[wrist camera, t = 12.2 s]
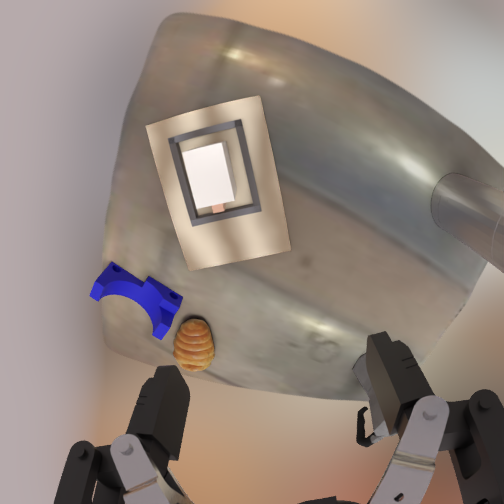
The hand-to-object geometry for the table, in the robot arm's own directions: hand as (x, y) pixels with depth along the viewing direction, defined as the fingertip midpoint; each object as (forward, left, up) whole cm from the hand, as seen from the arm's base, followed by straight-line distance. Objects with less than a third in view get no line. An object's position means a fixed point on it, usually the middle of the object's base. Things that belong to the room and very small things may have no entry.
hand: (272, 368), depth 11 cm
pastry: (+11, +19, -28) cm, 36 cm away
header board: (+4, -3, -27) cm, 27 cm away
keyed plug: (+4, -5, -26) cm, 27 cm away
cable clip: (+19, +9, -27) cm, 34 cm away
